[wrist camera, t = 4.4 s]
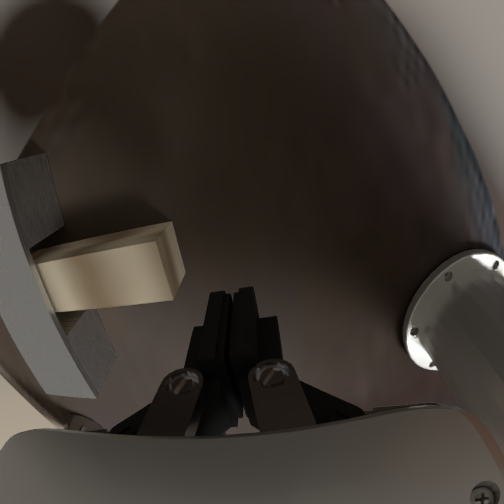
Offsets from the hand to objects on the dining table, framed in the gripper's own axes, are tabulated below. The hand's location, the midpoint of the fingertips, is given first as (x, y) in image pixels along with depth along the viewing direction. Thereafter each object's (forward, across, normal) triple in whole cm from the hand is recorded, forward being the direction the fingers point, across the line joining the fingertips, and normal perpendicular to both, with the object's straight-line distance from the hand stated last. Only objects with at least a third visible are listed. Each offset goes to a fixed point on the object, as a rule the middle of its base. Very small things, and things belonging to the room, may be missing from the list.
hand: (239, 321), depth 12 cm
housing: (+11, +17, 0) cm, 20 cm away
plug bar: (+11, +11, 0) cm, 16 cm away
